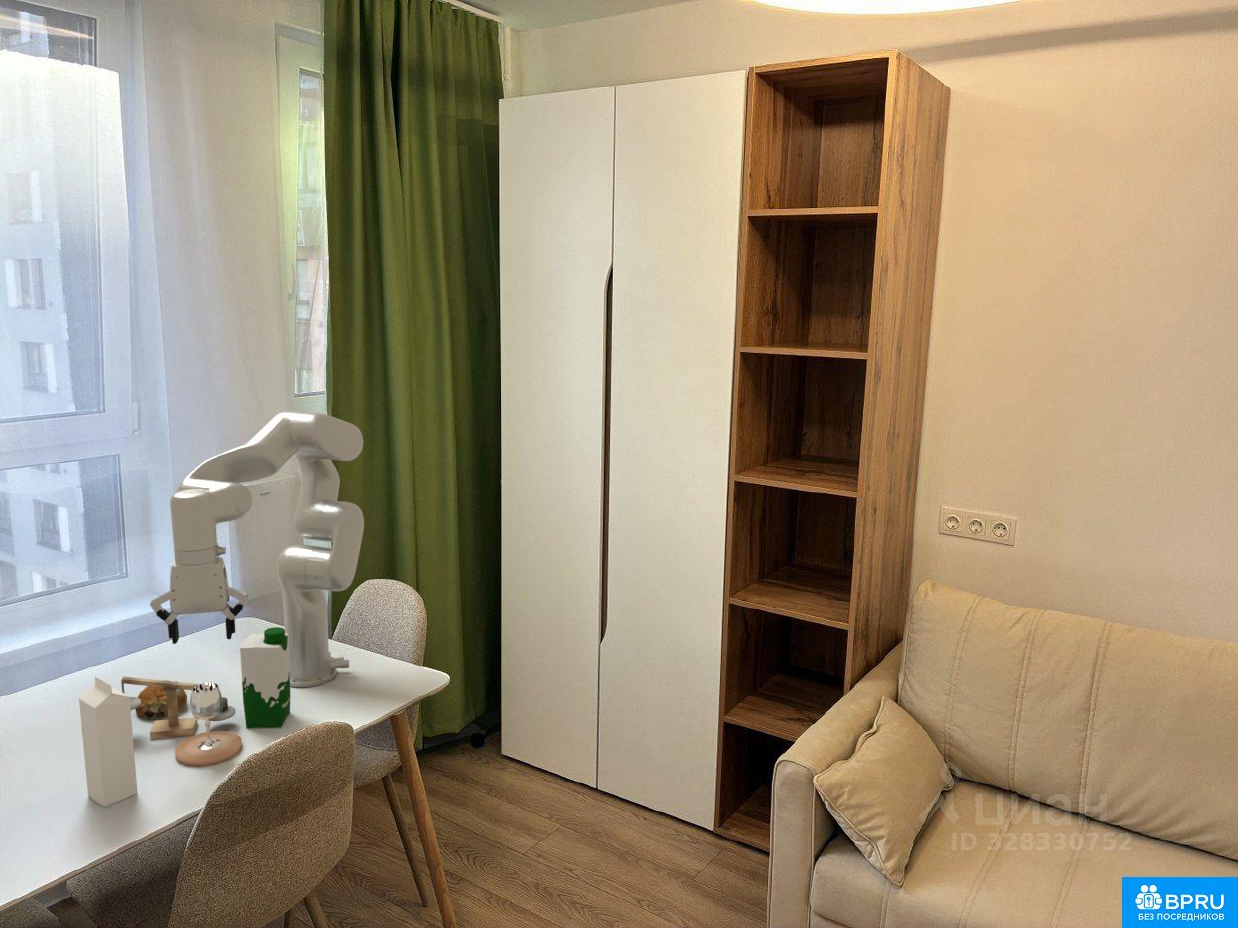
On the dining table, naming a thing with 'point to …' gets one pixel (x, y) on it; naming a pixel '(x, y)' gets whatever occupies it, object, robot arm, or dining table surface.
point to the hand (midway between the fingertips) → (203, 638)
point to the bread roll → (158, 702)
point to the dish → (199, 758)
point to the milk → (108, 744)
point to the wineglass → (206, 709)
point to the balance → (173, 709)
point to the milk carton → (266, 678)
